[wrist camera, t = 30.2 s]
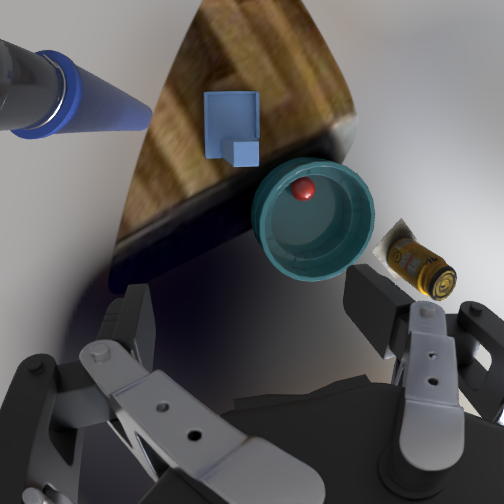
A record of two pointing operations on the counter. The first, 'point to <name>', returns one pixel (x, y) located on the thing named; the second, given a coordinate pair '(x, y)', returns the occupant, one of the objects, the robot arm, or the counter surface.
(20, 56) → the robot arm
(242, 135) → the blue base with post
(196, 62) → the counter surface
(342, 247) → the teal ribbed bowl
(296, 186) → the bead
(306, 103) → the counter surface
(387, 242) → the condiment
